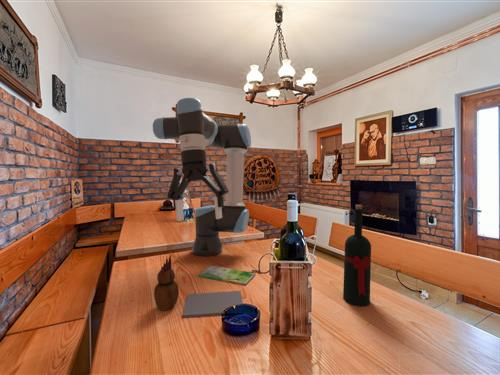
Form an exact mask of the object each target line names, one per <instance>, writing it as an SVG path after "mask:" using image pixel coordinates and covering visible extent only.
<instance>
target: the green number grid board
mask: <svg viewBox="0 0 500 375" xmlns="http://www.w3.org/2000/svg"><path fill="white" fill-rule="evenodd" d="M250 272H251V271H247V270H240V269H233V268H227V267H221V266H215V265H210V266H209V267H208V268H206V269H205V270H204V271H202V272H200V273H199V274H198V277H200V278H204V279H205V278H206V279H208V280H215V281H220V282H221V281H222V282H224V283H225V282H226V283H231V284H235V285H241V286H247V285H248V284H249V283H250V280H251V281H252V280H253V279H254V277H255V276H256V275H257V274H256V272H253V274H250ZM255 274H256V275H255ZM254 275H255V276H254ZM253 276H254V277H253Z"/></svg>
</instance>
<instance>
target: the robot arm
mask: <svg viewBox="0 0 500 375" xmlns="http://www.w3.org/2000/svg"><path fill="white" fill-rule="evenodd" d="M202 106H203V105H202V103H201V101H200V99H198V98H194V97H183V98H181V99H179V100H177V102H176V115H177V116H173V117H164V116H163V117H159V118H155V119H154V121H153V122H152V132H153V134H154V136H155V137H156V138H157V139H160V140H178V141H179V148H180V150H181V152H180V160H181V164H182V168H179V167H178V168H177V167H174V169H173V176H172V180H171V184H170V186H169V189H168V192H167V195H166V196H167V197H166V198H167V199H171V200H172V201H173V209H174V211H175V213H176V214H175V215H176V221H177V222H180V221H185V215H184V203H183V202H184V201H183V199H182V196H183V194H184V192H185V191H186V190H187V187H188V186H189V184H190V183H191V182H196V181H203V182H204V183H205V184H206V186H207V187H208V188H209V189H210V190H211V191H212V192H213V193H214V194H215V196H214V197H213V201H214V204H211V205H206V206H201V207H197V208H196V209H195V217H194V218H195V237H194V241H193V244H192V249H191V250H192V254H193V255H195V256H201V257H209V256H210V257H212V256H216V255H219V254H221V253H222V252H223V244H222V242H221V238H220V233H231V234H232V233H233V234H242V233H244V232H245V231H246V230H247V227H248V224H249V218H250V212H249V209H247V208H246V205H245V203H244V202H243V200H244V199H243V198H244V197H243V196H244V168H245V154H246V153H247V152H248V149H249V148H251V146H252V140H251V139H252V138H251V136H252V135H251V133H250V132H251V131H250V128H249V126H248V125H247V124H246V123H232V124H227V123H225V124H217V123H216V122H215V120H213V118H211V117H209V116H208V115H207V114H205V113H204V112H203V107H202ZM206 146H208V147H212V148H217V149H223V151H224V152H225V153H226V168H225V169H226V172H225V173H226V174H225V179H226V180H225V182H224V180H223V178H222V176H221V175H220V173H219V171H218V167H217V164H215V163H209V164H207V152H206V150H205V149H206ZM208 171H209V172H210V174H211V177H212V178H213V180H214V181H215V182H214V181H213V180H212V179H211V177H210V176H209V175H208V174H207V172H208ZM224 196H225V198H224ZM224 199H225V201H224Z"/></svg>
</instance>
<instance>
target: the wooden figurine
mask: <svg viewBox="0 0 500 375" xmlns="http://www.w3.org/2000/svg"><path fill="white" fill-rule="evenodd" d="M156 276H157V279H156V280H157V282H158V283H157V284H156V285H155V286H154V289H153V298H154V301H155V302H154V303H155V305H156V308H157V309H159V310H161V311H166V310H170V309H172V308H173V307H174V306H175V305H176V303H178V302H177V301H178V299H179V294H180V293H179V292H180V291H179V290H180V289H179V285H178V282H177V281H176V280H175V278H176V273H175V271H174V269H173V268H172V255H171V254H170V255H169V257H168V258H165V262H164V263H163V266H161V270H159V271H158V273H157V275H156Z"/></svg>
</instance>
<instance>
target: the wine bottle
mask: <svg viewBox="0 0 500 375" xmlns="http://www.w3.org/2000/svg"><path fill="white" fill-rule="evenodd" d="M363 213H364V212H363V205H362V204H355V209H354V232H353V233H354V234H351V235H350V236H348V237H347V238H346V240H345V243H344V258H343V261H344V262H343V263H344V265H343V291H342V292H343V294H342V295H343V296H342V300H344V301H345V302H346V303H347V304H350V305H351V306H354V307H355V306H356V307H367V306H369V305H370V304H371V271H372V270H371V268H372V267H371V266H372V264H371V263H372V244H371V242H370V240H369V239H368V238H367V237H365V236H364V235H363Z"/></svg>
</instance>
